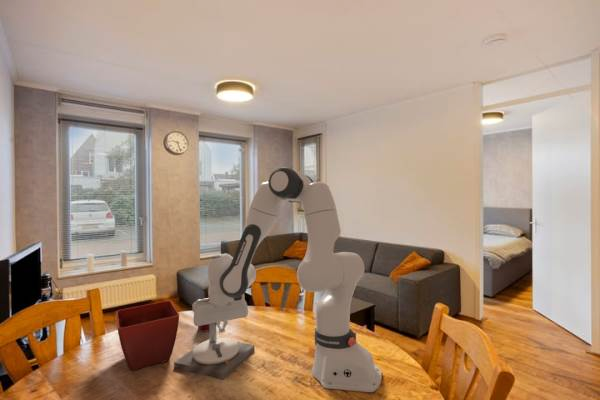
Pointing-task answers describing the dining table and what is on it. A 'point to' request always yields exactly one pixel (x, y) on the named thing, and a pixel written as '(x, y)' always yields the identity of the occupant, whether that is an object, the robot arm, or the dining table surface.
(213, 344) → the dial
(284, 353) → the dining table surface
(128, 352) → the plant pot
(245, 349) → the dial base
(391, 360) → the dining table surface
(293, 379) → the dining table surface
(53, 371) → the dining table surface
